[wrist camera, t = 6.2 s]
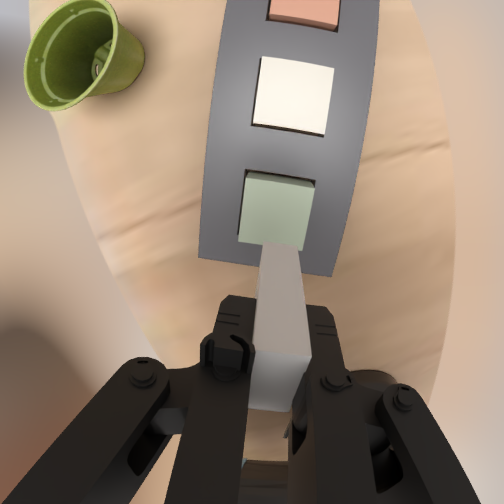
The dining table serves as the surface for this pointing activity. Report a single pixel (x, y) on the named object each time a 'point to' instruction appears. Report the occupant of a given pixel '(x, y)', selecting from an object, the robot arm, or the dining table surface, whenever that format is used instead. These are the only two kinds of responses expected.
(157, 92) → the dining table surface
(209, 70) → the dining table surface
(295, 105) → the cream key
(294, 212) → the sage key
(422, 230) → the dining table surface
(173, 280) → the dining table surface
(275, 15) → the terracotta key
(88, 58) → the plant pot
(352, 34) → the keypad
